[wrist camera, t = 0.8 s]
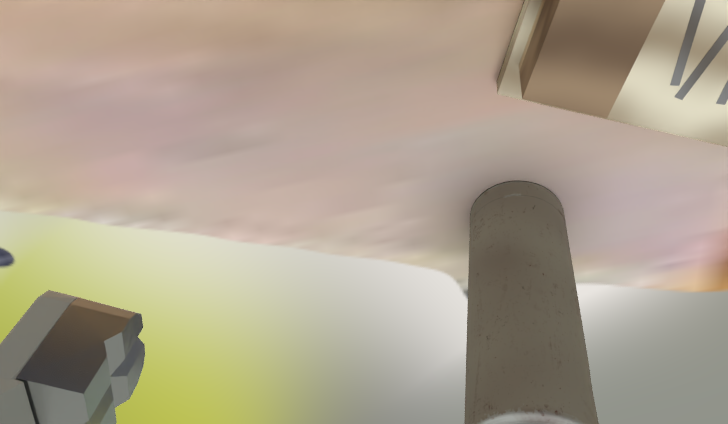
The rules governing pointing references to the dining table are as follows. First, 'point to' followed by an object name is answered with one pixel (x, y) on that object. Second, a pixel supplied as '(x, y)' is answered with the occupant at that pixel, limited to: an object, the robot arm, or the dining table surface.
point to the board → (660, 71)
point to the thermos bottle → (524, 313)
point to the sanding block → (584, 52)
